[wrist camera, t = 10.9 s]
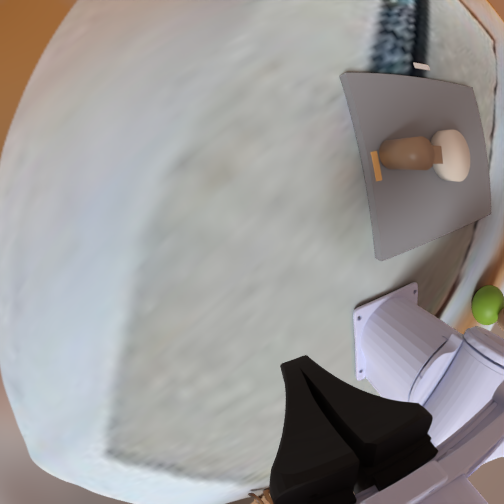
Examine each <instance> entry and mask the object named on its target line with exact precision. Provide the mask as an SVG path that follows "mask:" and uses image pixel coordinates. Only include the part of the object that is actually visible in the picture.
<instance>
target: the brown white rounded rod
mask: <svg viewBox="0 0 504 504" xmlns="http://www.w3.org/2000/svg"><path fill="white" fill-rule="evenodd" d="M379 157H380V160H381V162H382V164H383V165H384V166H385V167H386V168H388V169H398V170H429V169H430V168H431V167H432V166H433V168H434V170H435V172H436V174H437V175H438V176H439V177H440V178H441V179H443V180H447V181H456V182H461V181H463V180H464V179H465V178H466V177H467V175H468V173H469V169H470V152H469V148H468V145H467V142H466V140H465V138H464V137H463V135H462V134H461V133H460V132H459V131H457V130H441V131H437V132H436V133H435V134H434V135H433V137H432V139H431V142H430V141H429V140H428V139H427V138H425V137H423V136H420V137H411V138H402V139H394V140H387V141H384V142H383V143H382V144H381V146H380V149H379Z"/></svg>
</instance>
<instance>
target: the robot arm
mask: <svg viewBox="0 0 504 504" xmlns="http://www.w3.org/2000/svg"><path fill="white" fill-rule="evenodd" d="M417 301H418V284H417V283H415V282H413V283H410V284H408V285H406V286H404V287H402V288H400V289H398V290H396V291H394V292H391V293H389V294H387V295H385V296H383V297H380V298H378V299H376V300H374V301H371V302H369V303H367V304H364V305H362V306H360V307H357V308H356V309H355V310H354V312H353V319H354V336H355V359H356V379H357V380H362V379H364V378H367V380H368V381H369V382H370V383H371V384H372V386H373V387H374V388H375V389H376V390H377V392H378V393H379V394H380V395H381V396H382V397H380V396H376V395H373V394H370V393H367V392H365V391H362V390H360V389H358V388H355V387H353V386H351V385H349V384H347V383H346V382H344V381H342V380H340V379H338V378H337V377H335V376H334V375H332V374H331V373H329V372H327V371H326V370H325V369H323V368H322V367H321V366H319V365H318V364H317V363H315V362H314V361H313V360H312V359H310V358H309V357H308V356H306V355H305V356H302V357H299V358H296V359H294V360H291V361H288V362H285V363H282V364H281V366H280V367H281V371H282V375H283V379H284V382H285V390H286V410H285V420H284V427H283V433H282V438H281V441H280V445H279V449H278V452H277V455H276V458H275V461H274V463H273V466H272V468H271V476H270V487H269V489H270V496H271V499H272V502H273V504H488V503H487V502H486V500H485V499H484V498H483V497H482V496H481V495H480V493H479V492H478V491H477V490H476V489H475V488H474V486H473V485H472V484H471V483H470V482H469V480H468V479H467V478H468V477H469V476H470V475H471V474H472V473H474V472H475V471H476V470H477V469H478V468H479V467H480V466H481V465H482V464H484V463H486V462H489V461H491V460H493V459H496V458H498V457H504V339H503V338H501V337H500V336H498V335H496V334H494V333H492V332H490V331H488V330H486V329H484V328H481V327H478V326H475V327H472V328H468V329H467V330H466V331H465V333H464V335H463V334H461V333H460V332H458V331H457V330H455V329H454V328H452V327H451V326H449V325H448V324H446V323H445V322H443V321H441V320H440V319H438V318H437V317H435V316H434V315H432V314H431V313H429V312H428V311H426V310H424V309H423V308H421V307H420V306H418V305H417ZM359 316H360V317H359ZM358 317H359V318H358ZM357 318H358V319H357ZM353 491H354V493H353ZM354 494H355V495H354Z"/></svg>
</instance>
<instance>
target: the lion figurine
mask: <svg viewBox="0 0 504 504" xmlns="http://www.w3.org/2000/svg"><path fill="white" fill-rule="evenodd" d="M269 493H270V490H269V489H267V490H264V491H263V494H264V496H265V498H266V500H267V501H268V502H269V504H273V502H272V499H271V497H270V496H269ZM248 495H249V496H251V497H253V498H255V499H254V501H255V502H256V503H257V504H264V503H263V501H262V500H261V498H259V497H257V496H256V495H255V494H254V493H249V494H248Z"/></svg>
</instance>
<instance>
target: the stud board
mask: <svg viewBox="0 0 504 504" xmlns="http://www.w3.org/2000/svg"><path fill="white" fill-rule="evenodd" d="M413 64H414V67H415V68H418V69H424V70H429V71H430V68H429V65H425V64H420V63H414V62H413ZM340 79H341V82H342V86H343V89H344V92H345V96H346V99H347V103H348V106H349V110H350V114H351V117H352V121H353V125H354V129H355V134H356V138H357V142H358V147H359V151H360V156H361V161H362V166H363V171H364V177H365V182H366V188H367V194H368V201H369V207H370V214H371V222H372V230H373V239H374V249H375V258H376V259H378V260H380V261H384V260H386V259H389V258H391V257H394V256H396V255H399V254H401V253H404V252H406V251H409V250H411V249H414V248H416V247H418V246H421V245H423V244H426V243H428V242H430V241H433V240H435V239H437V238H440V237H442V236H444V235H446V234H449V233H451V232H453V231H455V230H458V229H460V228H462V227H464V226H466V225H469V224H471V223H473V222H475V221H477V220H479V219H481V218H483V217H486V216H488V215H490V214H491V193H490V178H489V168H488V160H487V152H486V145H485V139H484V134H483V128H482V124H481V119H480V114H479V110H478V106H477V102H476V98H475V95H474V91H473V88H472V87H468V86H464V85H459V84H455V83H450V82H445V81H439V80H433V79H427V78H420V77H412V76H403V75H393V74H379V73H351V72H345V73H344V74H342V75H340ZM441 130H457V131H459V132H460V133H461V134H462V135H463V137H464V138H465V140H466V142H467V145H468V148H469V152H470V169H469V173H468V175H467V177H466V178H465V179H464V180H463V181H461V182H456V181H447V180H443V179H441V178H440V177H439V176H438V175H437V174H436V172H435V170H434V168H433V166H432V167H431V168H430V169H429V170H398V169H388V168H386V167H385V166H384V165H383V164H382V162H381V160H380V157H379V149H380V146H381V144H382V143H383V142H384V141H387V140H394V139H402V138H411V137H420V136H423V137H425V138H427V139H428V140H429V141H430V142H431V139H432V137H433V135H434V134H435V133H436V132H437V131H441Z"/></svg>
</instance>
